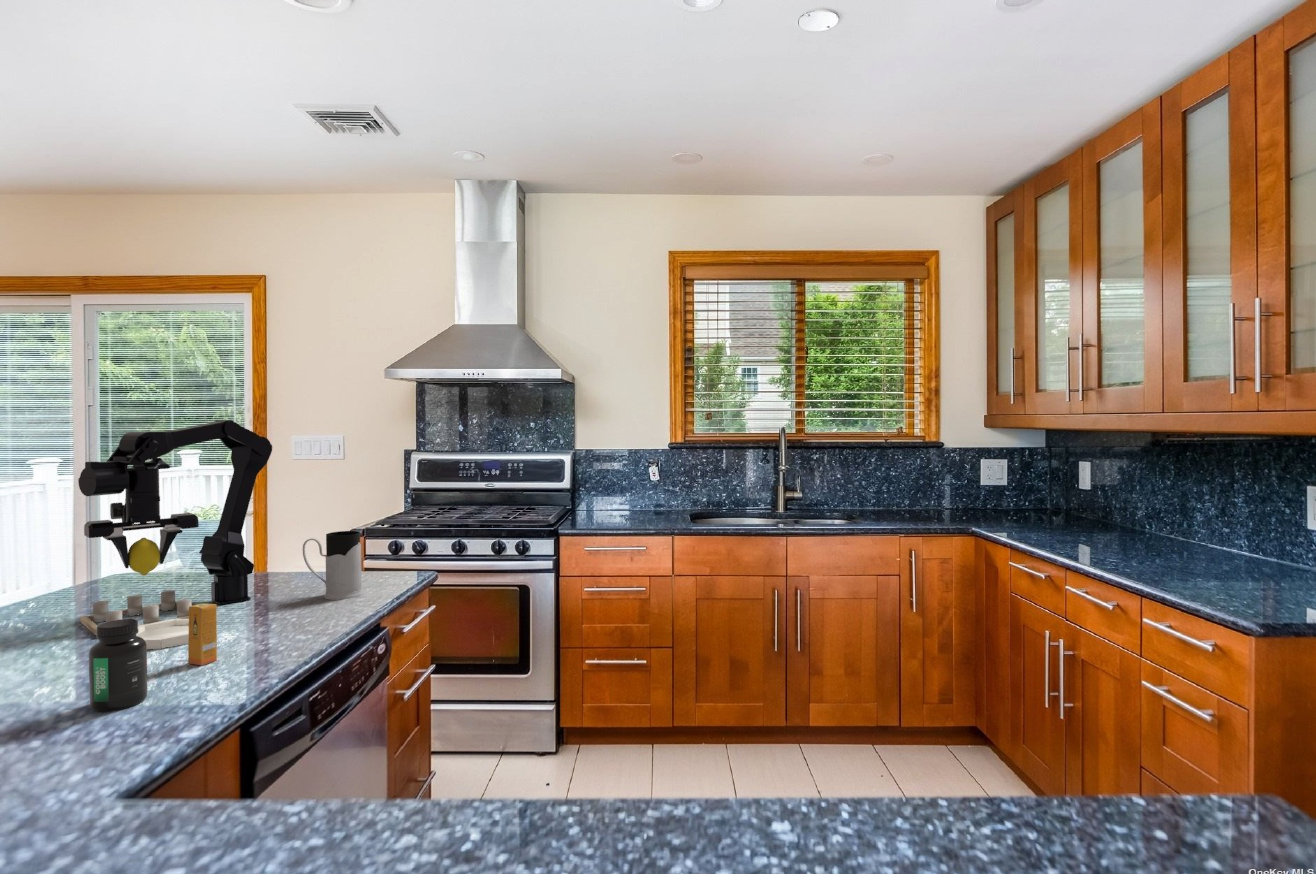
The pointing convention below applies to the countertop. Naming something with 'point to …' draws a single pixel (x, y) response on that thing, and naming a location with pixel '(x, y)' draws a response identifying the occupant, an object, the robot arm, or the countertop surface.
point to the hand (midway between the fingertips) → (144, 565)
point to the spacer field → (137, 610)
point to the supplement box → (202, 634)
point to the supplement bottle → (117, 667)
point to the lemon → (143, 556)
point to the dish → (165, 633)
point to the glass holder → (341, 564)
